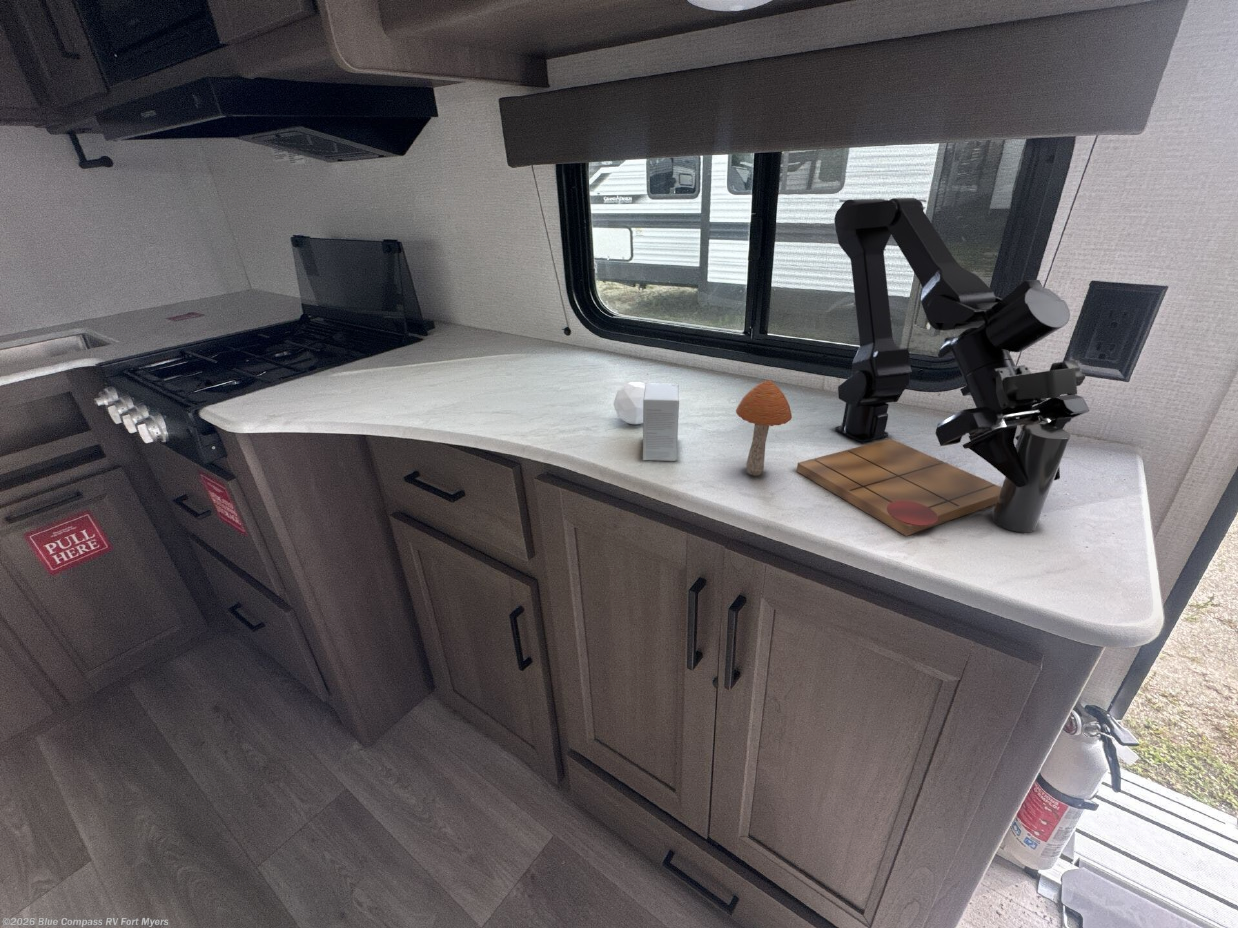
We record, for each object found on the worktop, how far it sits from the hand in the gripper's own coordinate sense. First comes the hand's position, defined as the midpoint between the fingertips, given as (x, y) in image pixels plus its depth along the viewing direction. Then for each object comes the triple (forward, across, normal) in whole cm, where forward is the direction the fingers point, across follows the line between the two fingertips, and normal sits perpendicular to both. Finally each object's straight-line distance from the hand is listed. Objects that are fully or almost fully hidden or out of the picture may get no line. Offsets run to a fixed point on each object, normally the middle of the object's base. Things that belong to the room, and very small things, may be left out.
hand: (1039, 483), depth 69 cm
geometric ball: (-30, -36, +40) cm, 61 cm away
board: (-6, -7, +15) cm, 17 cm away
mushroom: (-12, -25, +22) cm, 35 cm away
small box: (-21, -36, +30) cm, 51 cm away
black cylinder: (+4, 0, +6) cm, 7 cm away
